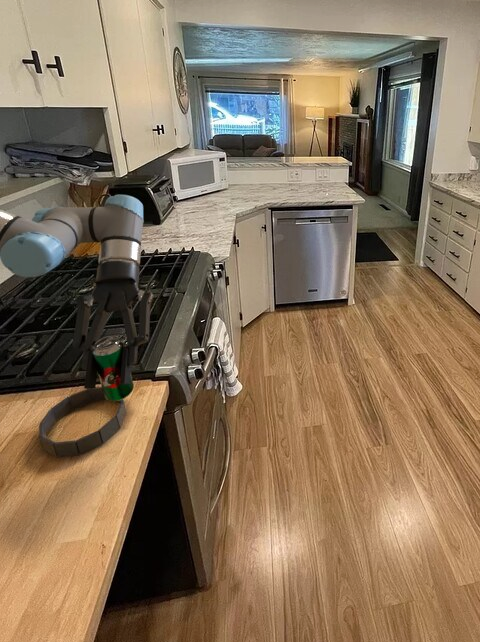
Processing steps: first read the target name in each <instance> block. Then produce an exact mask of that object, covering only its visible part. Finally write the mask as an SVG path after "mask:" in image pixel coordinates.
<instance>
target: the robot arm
mask: <svg viewBox="0 0 480 642" xmlns="http://www.w3.org/2000/svg"><path fill="white" fill-rule="evenodd" d="M144 222H145V220H144V205H143V203H142V202H141V201H140V200H139V199H138V198H136V197H134V196H132V195H128V194H115V195H114V196H113V195H111V196H109V197H108V198H106V200H105V203H104V205H103V206H96V207H95V206H93V207H89V206H87V207H80V206H79V207H63V206H54V207H46V208H45V207H44V208H40V209H38V210H37V211H35V213H34V216H32V217H31V220H30V219H28V218H25V217H22V216H20V215H16V214H14V213H11V212H9V211H6V210H3V209H1V208H0V261H1V263H2V265H3V266H4V267H5V268H6V269H7V270H8V271H10V272H11V273H12V274H13V275H16V276H18V277H22V278H37V277H41V276H44V275H45V274H47V273H48V272H50V271H52V270H53V269H55V268H56V267H58V266H60V264H61V263H62V262H63V261H64V260H65V259H66V257H68V255H69V254H70V253H72V252H73V251H74V250H75V249H76V248H77V247H78V246H80V245H81V244H87V243H90V244H91V243H100V244H99V245H100V247H99V252H98V261H97V262H98V266H97V270H96V277H95V287H94V290H93V291H92V293H91V294H88V295H85V296H82V295H79V296H77V297H76V298H75V301H76V305H77V312H76V313H77V314H76V319H75V326H74V332H73V338H72V344H71V347H72V348H73V349H77V350H80V351H82V359H81V369H82V370H85V377H84V384H83V385H84V387H83V389H84V390H85V389H95V388H96V387H97V377H98V371H97V368H96V364H95V360H94V357H93V353H92V351H93V349H94V347H93V346H94V344H95V343H96V342H97V341H98V340H100V339H101V336H102V333H103V331H104V328H105V326H106V323H107V320H108V318H109V317H110V315H111V314H112V313H113V312H116V311H120V313H121V318H122V322H123V327H124V332H125V337H126V341H127V342H126V345H127V346H125V345H124V346H125V347H123V353H122V365H121V377H120V384H124V385H126V384H130V373H131V374H132V372H131V371H132V365H136V364H137V361H138V352H139V351H138V348H139V347H140V346H141V345H142V344H146V343H148V342H149V340H150V325H151V324H150V322H151V305H152V302H153V300H154V294H153V293H152V292H151V291H150V290H145V291H144V290H141V289H140V287H139V283H140V269H141V268H140V267H139V266H140V265H141V254H142V238H143V229H144V228H143V227H144ZM137 299H138V300H139V302H140V303H139V315H138V317H139V318H138V333H137V329H136V323H135V319H134V311H133V306H132V305H133V304H134V302H135V301H136V300H137ZM94 301H95V303H96V304H97V307H96V310H95V315H94V318H93V320H92V323H91V324H90V317H91V311H92V310H91V307H92V306H93V302H94ZM89 326H90V328H89Z"/></svg>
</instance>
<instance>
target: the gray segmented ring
mask: <svg viewBox="0 0 480 642" xmlns="http://www.w3.org/2000/svg"><path fill="white" fill-rule="evenodd" d="M98 401H99V402H101V401H108V400H107V399H105V396H104V393H103V389H102V386H96V388H95V389H84V390H80V391H78V392H75V393H73V394H69V396H66V397H64V398H63V399H62V400H61V401H59V402H58V403H56V404H55V405H54V406H52V407H51V408H50V409H49V410H48V411H47V413H46V414H45V415H44V417H43V418H42V420H41V421H40V423H39V424H38V430H39V431H38V435H39V440H40V443H41V445H42V448H43V450H44V452H46V453H47V454H49V455H52V456H53V457H56V458H59V459H61V458H70V457H79V456H82V455H83V454H86V453H88V452H90V451H92V450H94V449H96V448H98V447H101V446H102V445H103V444H105V443H106V442H107V441H108V440H110V439H111V438H112V437H113V436H114V435H115V434H116V433H118V431H119V430H121V428H122V426H123V424H124V422H125V419H126V417H127V415H128V413H127V408H126V405H125V400H124V399H123V400H120V401H113V402H114V403H116V404H119V406H118V408H117V410H116V412H115V415H114V416H113V417H112V418H110V419H109V420H108V421H107V422H106V423H104V425H103V426H101V427H100V428H99V429H98V430H96V431H93V432H91V433H88V434H87V435H85V436H82V437H79V438H78V439H75V440H66V441H56V442H55V441H53V440H51V439H49V438H47V437H48V436H49V433H50V432H51V431H52V429H53V428H54V426H55V425H56V423H57V422H58V421H60V420H61V419H62V418H63V417H65V416H66V415H68V414H69V413H70V412H72V411H73V410H74V409H77V408H79V407H81V406H84V405H87V404H90V403H92V402H98Z"/></svg>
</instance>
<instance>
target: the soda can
mask: <svg viewBox="0 0 480 642" xmlns="http://www.w3.org/2000/svg"><path fill="white" fill-rule="evenodd" d="M93 347H94V349H93V351H92V353H93V357H94V360H95V364H96V368H97V376H98V378H99V381H100V385H101V386H100V387H102V389H103V393H104V396H105V399H107V400H106V401H109V402H114V401H120V400H123V401H124V400H125V399H126V398H128V397H129V396H130V395H131V394H132V392H133V391H134V388H135V385H134V380H133V377H132V372H131V373H130V384H126V385H124V384H120V377H121V365H122V353H123V347H125V342H124V341H123V340H122V339H121V337H120V336H117V335H108V336H104V337H102V338H99V340H98V341H97V342H96V343H95V344H94V346H93Z"/></svg>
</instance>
